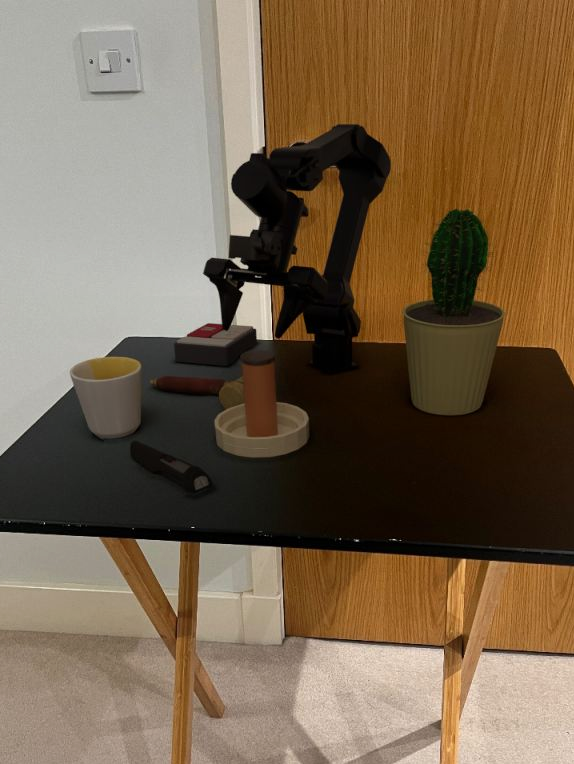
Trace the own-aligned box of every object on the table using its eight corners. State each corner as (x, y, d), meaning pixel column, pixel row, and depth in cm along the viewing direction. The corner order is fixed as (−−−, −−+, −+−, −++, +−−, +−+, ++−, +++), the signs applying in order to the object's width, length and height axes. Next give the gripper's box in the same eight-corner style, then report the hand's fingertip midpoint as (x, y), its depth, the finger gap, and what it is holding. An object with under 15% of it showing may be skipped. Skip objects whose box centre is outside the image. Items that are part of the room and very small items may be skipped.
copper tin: (269, 428, 115) (265, 347, 108) (284, 439, 111) (281, 356, 105) (240, 435, 112) (234, 353, 106) (255, 447, 109) (250, 363, 103)
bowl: (280, 415, 120) (279, 395, 118) (326, 446, 110) (326, 424, 108) (201, 435, 114) (199, 413, 113) (241, 470, 104) (240, 447, 102)
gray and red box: (256, 324, 151) (226, 343, 139) (257, 346, 153) (227, 366, 140) (206, 321, 154) (172, 339, 142) (208, 342, 156) (174, 361, 144)
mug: (120, 452, 110) (109, 383, 105) (67, 439, 114) (54, 373, 109) (176, 418, 120) (169, 354, 115) (126, 408, 125) (116, 346, 119)
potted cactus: (384, 411, 120) (390, 210, 105) (417, 380, 132) (427, 195, 117) (479, 427, 114) (500, 216, 99) (505, 393, 126) (528, 199, 111)
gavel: (131, 379, 127) (163, 360, 135) (136, 405, 129) (168, 385, 137) (241, 386, 119) (269, 366, 126) (245, 413, 121) (272, 392, 129)
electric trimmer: (147, 455, 109) (144, 435, 108) (215, 488, 100) (213, 466, 98) (125, 464, 107) (121, 443, 105) (192, 498, 97) (189, 476, 96)
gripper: (196, 203, 110) (169, 307, 109) (309, 210, 101) (280, 322, 101) (235, 237, 120) (210, 332, 120) (340, 246, 112) (314, 348, 111)
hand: (250, 333), depth 113 cm, fingers open, 9 cm apart
